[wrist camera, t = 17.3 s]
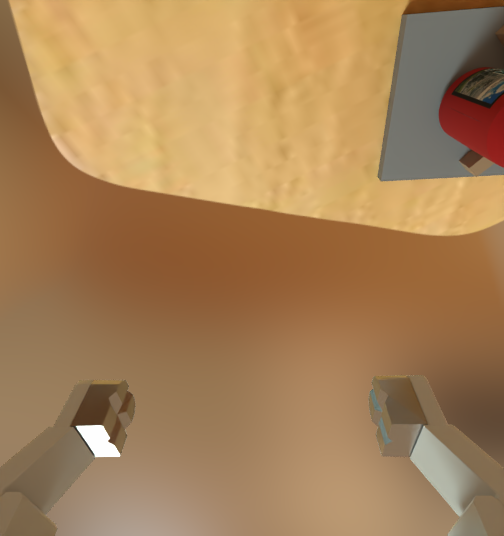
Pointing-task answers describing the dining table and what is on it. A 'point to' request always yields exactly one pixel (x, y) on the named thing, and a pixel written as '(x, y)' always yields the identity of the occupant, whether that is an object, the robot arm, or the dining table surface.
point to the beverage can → (476, 112)
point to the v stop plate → (436, 92)
